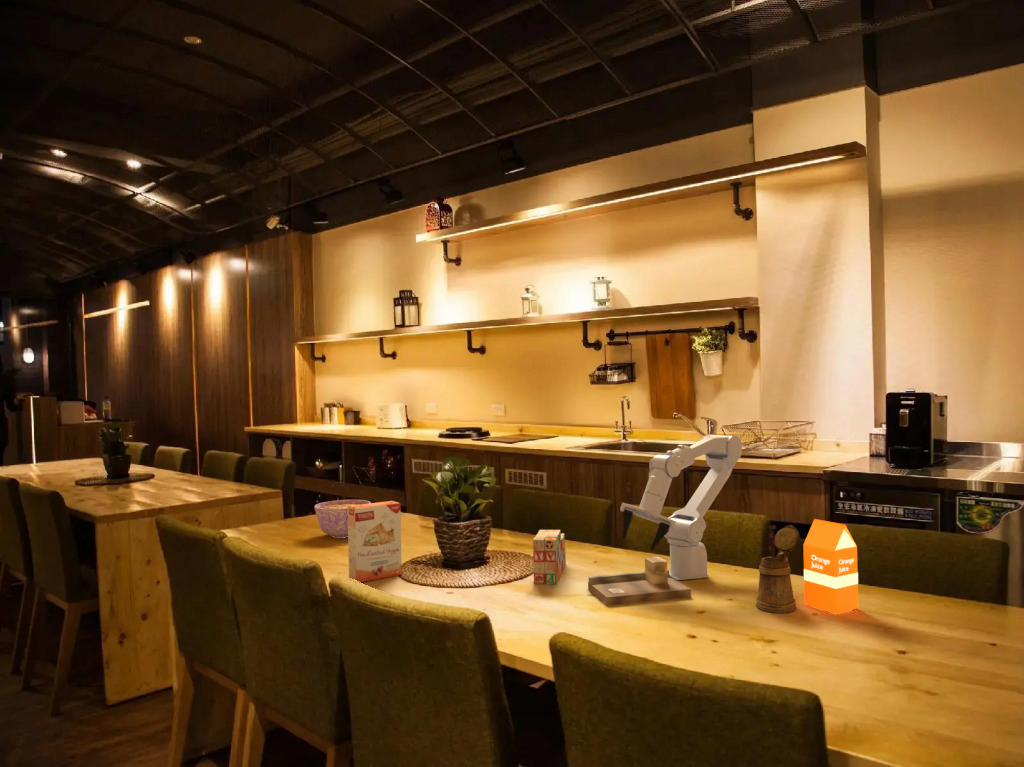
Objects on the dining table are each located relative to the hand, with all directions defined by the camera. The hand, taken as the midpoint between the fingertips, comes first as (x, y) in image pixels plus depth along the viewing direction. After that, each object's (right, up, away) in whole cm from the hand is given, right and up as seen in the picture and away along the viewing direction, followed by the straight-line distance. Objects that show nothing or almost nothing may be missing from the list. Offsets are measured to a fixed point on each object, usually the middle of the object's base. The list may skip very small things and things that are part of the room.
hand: (637, 545), depth 188 cm
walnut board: (0, -11, -4) cm, 12 cm away
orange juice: (+42, -11, -19) cm, 47 cm away
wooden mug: (+31, -11, -16) cm, 37 cm away
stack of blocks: (-22, -12, +17) cm, 30 cm away
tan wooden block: (+5, -9, 0) cm, 10 cm away
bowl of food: (-93, -14, +75) cm, 121 cm away
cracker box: (-71, -13, +18) cm, 75 cm away
